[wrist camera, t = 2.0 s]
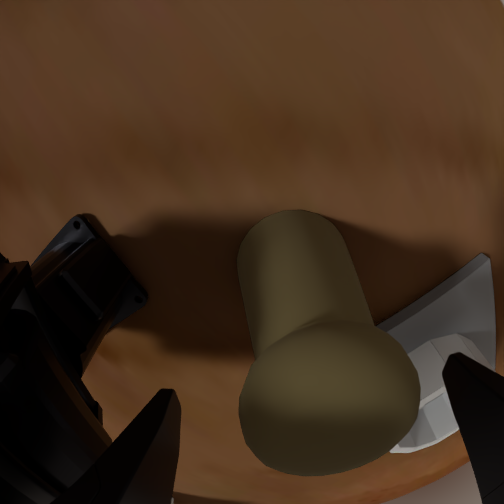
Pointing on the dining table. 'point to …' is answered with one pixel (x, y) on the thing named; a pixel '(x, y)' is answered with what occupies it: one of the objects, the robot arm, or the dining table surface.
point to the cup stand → (445, 344)
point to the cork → (317, 354)
